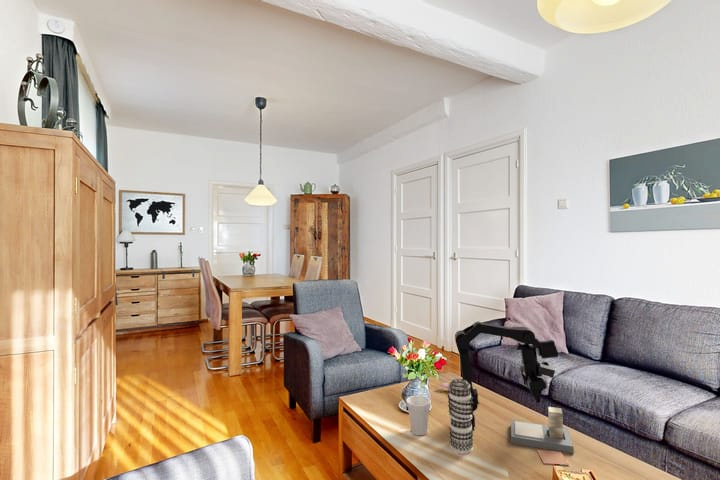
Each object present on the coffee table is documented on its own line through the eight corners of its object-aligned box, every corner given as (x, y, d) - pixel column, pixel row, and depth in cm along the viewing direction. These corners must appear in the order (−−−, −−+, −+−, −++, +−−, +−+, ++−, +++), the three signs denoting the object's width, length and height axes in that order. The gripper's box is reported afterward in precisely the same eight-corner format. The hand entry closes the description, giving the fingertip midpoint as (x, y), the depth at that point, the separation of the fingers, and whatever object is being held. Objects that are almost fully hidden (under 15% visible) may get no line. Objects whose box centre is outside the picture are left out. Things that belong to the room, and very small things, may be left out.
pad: (543, 464, 129) (543, 462, 129) (537, 451, 137) (537, 450, 137) (568, 465, 128) (568, 464, 128) (560, 452, 135) (560, 451, 135)
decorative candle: (471, 456, 134) (469, 387, 134) (446, 450, 139) (444, 383, 139) (476, 444, 142) (475, 379, 142) (452, 438, 147) (451, 375, 147)
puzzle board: (511, 442, 143) (510, 435, 143) (511, 425, 156) (510, 418, 156) (573, 453, 135) (573, 445, 135) (568, 434, 148) (568, 427, 148)
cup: (412, 424, 159) (411, 393, 159) (435, 429, 154) (434, 398, 154) (403, 435, 150) (402, 402, 150) (426, 441, 145) (425, 407, 145)
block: (550, 443, 142) (549, 411, 142) (548, 437, 146) (548, 406, 146) (563, 445, 140) (562, 413, 140) (561, 439, 144) (561, 408, 144)
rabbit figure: (469, 394, 191) (440, 385, 198) (471, 383, 191) (442, 374, 197) (467, 399, 186) (437, 389, 192) (469, 387, 185) (439, 378, 192)
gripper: (558, 365, 140) (564, 407, 139) (544, 350, 158) (550, 387, 158) (526, 367, 142) (533, 408, 142) (516, 352, 160) (522, 389, 160)
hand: (535, 397), depth 150 cm, fingers open, 9 cm apart
